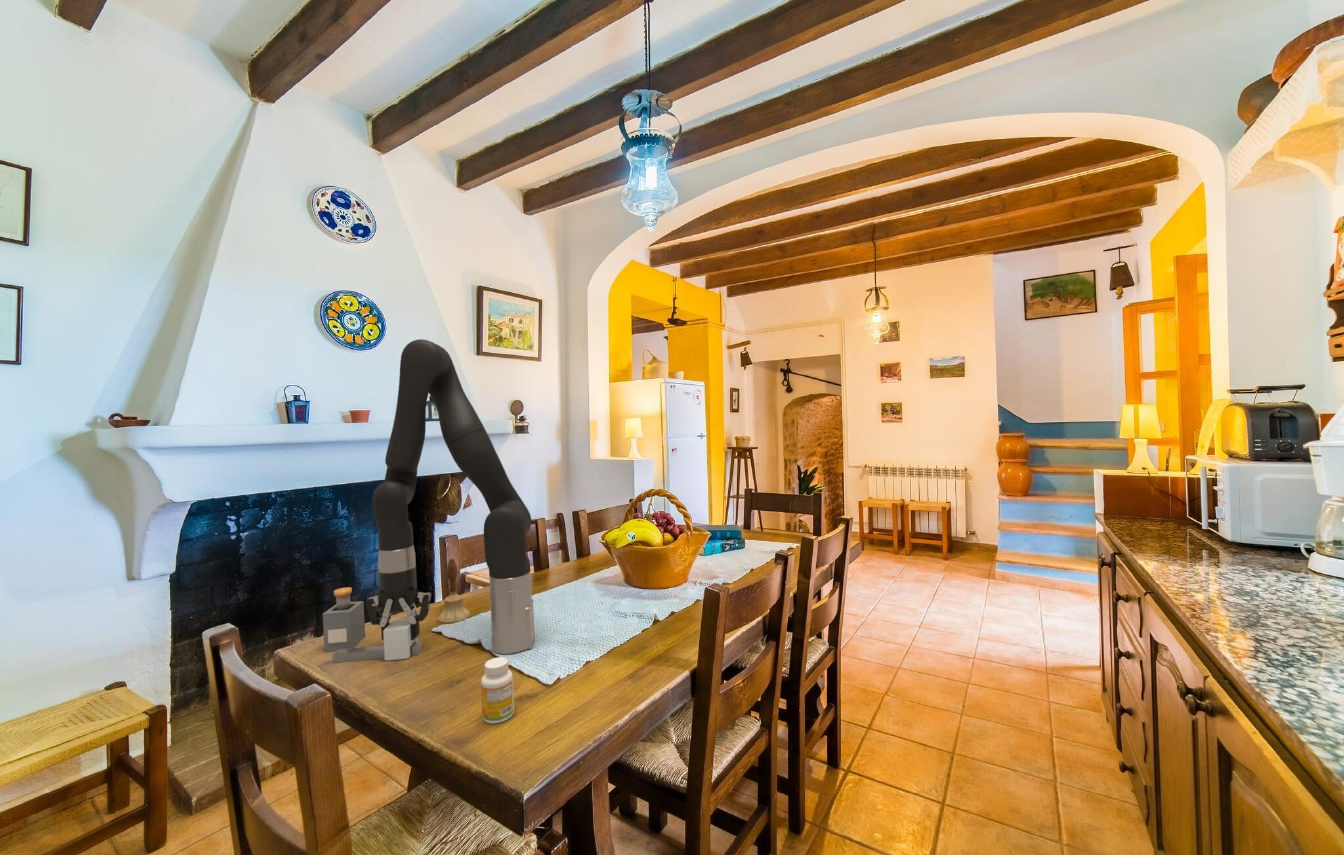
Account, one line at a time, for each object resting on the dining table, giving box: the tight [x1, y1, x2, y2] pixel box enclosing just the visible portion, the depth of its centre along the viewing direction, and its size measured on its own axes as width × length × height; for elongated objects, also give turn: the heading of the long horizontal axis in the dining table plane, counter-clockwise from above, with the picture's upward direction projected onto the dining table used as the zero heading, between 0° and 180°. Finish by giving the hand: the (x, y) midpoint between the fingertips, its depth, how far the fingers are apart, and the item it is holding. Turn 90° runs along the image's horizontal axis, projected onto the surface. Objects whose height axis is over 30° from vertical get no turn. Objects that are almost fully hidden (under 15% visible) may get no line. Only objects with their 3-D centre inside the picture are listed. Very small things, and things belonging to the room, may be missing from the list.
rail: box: [332, 641, 423, 664], centre depth 118 cm, size 18×2×2 cm, turn 98°
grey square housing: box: [322, 600, 366, 653], centre depth 125 cm, size 6×7×9 cm
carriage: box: [383, 618, 419, 661], centre depth 119 cm, size 5×6×7 cm
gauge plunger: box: [333, 586, 353, 611], centre depth 125 cm, size 4×4×5 cm
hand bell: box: [437, 558, 471, 624], centre depth 140 cm, size 8×8×16 cm
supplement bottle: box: [480, 656, 515, 725], centre depth 93 cm, size 5×5×10 cm
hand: (400, 639), depth 119 cm, fingers closed on carriage, 5 cm apart
